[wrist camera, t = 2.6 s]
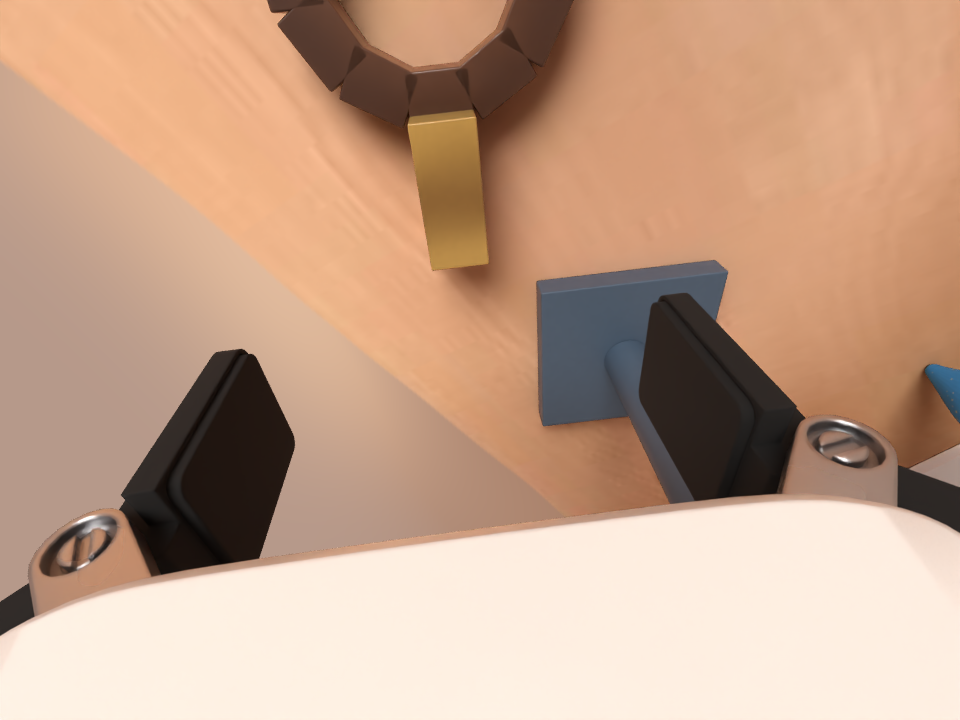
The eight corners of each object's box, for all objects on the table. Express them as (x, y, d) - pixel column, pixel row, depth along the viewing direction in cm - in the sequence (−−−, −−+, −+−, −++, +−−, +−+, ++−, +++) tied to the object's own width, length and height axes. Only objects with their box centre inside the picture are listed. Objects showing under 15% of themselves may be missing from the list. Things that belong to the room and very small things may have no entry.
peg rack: (536, 280, 25) (599, 452, 15) (715, 259, 25) (894, 417, 15) (538, 411, 31) (585, 595, 21) (683, 394, 31) (797, 570, 21)
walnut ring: (205, -274, 14) (142, -352, 11) (574, -317, 14) (611, -405, 11) (351, 249, 24) (339, 282, 21) (564, 224, 24) (581, 253, 21)
